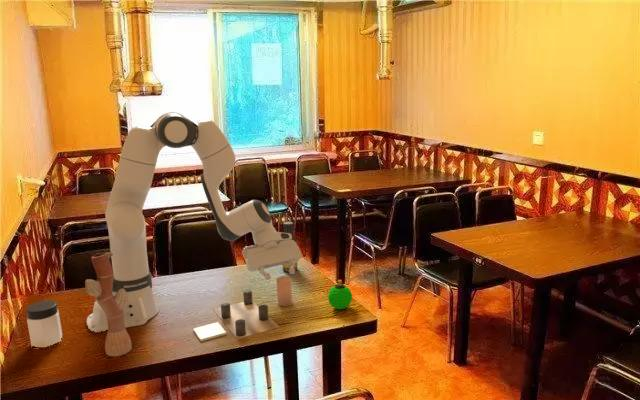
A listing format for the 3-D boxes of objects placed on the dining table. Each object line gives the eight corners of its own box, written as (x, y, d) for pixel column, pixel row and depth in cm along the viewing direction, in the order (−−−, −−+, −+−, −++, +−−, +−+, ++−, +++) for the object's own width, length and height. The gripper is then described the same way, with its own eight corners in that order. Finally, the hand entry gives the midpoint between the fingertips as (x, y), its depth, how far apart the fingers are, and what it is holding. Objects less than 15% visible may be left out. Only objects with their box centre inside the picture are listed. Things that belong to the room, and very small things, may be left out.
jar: (56, 332, 161) (51, 297, 159) (68, 340, 156) (62, 304, 153) (26, 344, 155) (19, 307, 152) (37, 352, 150) (31, 314, 147)
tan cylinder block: (281, 307, 174) (280, 282, 172) (275, 302, 178) (274, 278, 176) (294, 304, 177) (293, 279, 174) (288, 299, 181) (287, 275, 179)
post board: (237, 340, 154) (236, 325, 153) (213, 310, 174) (212, 297, 173) (279, 328, 160) (278, 314, 159) (251, 301, 181) (250, 288, 180)
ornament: (349, 314, 167) (348, 286, 165) (325, 312, 170) (324, 284, 167) (354, 304, 175) (354, 277, 173) (332, 302, 177) (331, 275, 175)
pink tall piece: (133, 341, 154) (121, 247, 147) (134, 352, 148) (122, 254, 141) (95, 349, 151) (81, 252, 144) (95, 361, 144) (80, 260, 137)
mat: (200, 341, 153) (200, 339, 153) (193, 330, 160) (193, 328, 159) (226, 334, 157) (226, 332, 156) (218, 324, 163) (217, 322, 163)
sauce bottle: (295, 273, 205) (293, 225, 201) (280, 272, 206) (278, 225, 202) (299, 267, 211) (297, 221, 207) (285, 266, 213) (282, 220, 208)
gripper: (242, 243, 177) (255, 278, 171) (294, 232, 186) (308, 265, 180) (238, 252, 181) (251, 286, 175) (290, 241, 191) (303, 273, 185)
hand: (280, 276), depth 178 cm, fingers open, 8 cm apart
